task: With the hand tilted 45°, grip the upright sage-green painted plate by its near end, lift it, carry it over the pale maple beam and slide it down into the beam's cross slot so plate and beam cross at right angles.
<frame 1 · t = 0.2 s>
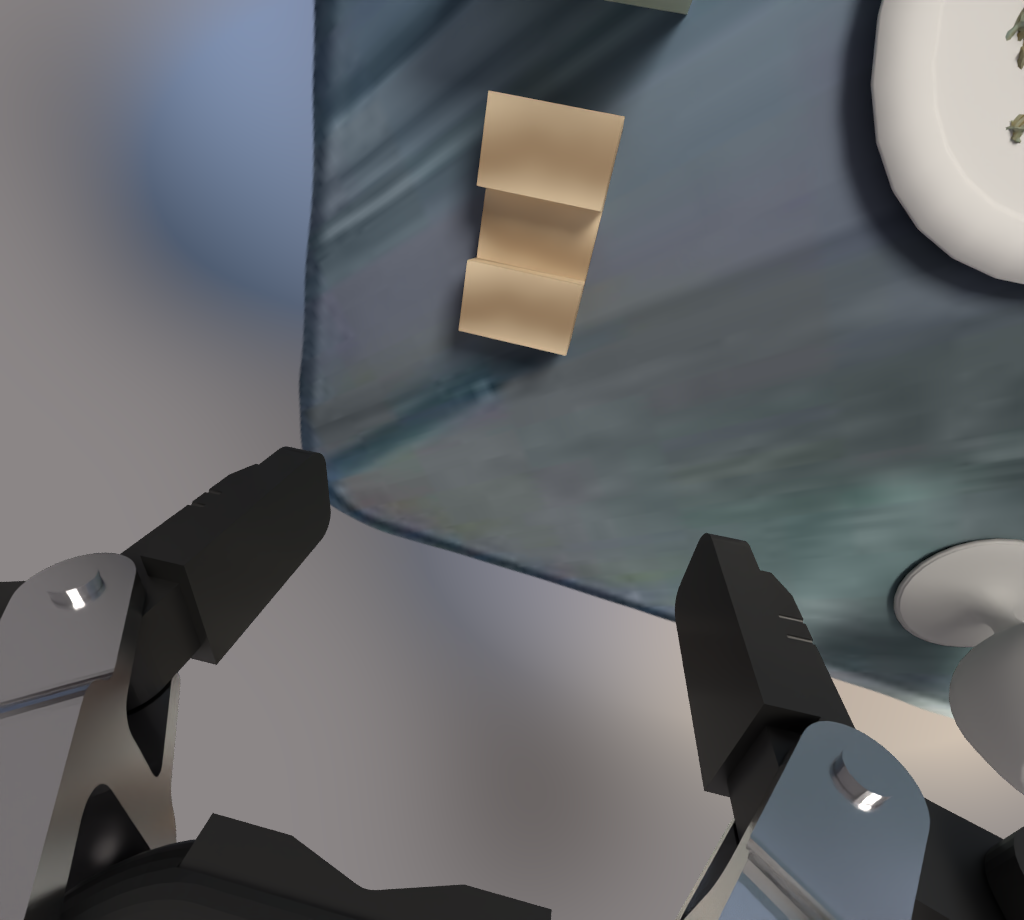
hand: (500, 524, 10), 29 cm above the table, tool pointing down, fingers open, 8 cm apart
slotted maple beam: (539, 235, 33), on the table
chalice: (972, 591, 40), on the table
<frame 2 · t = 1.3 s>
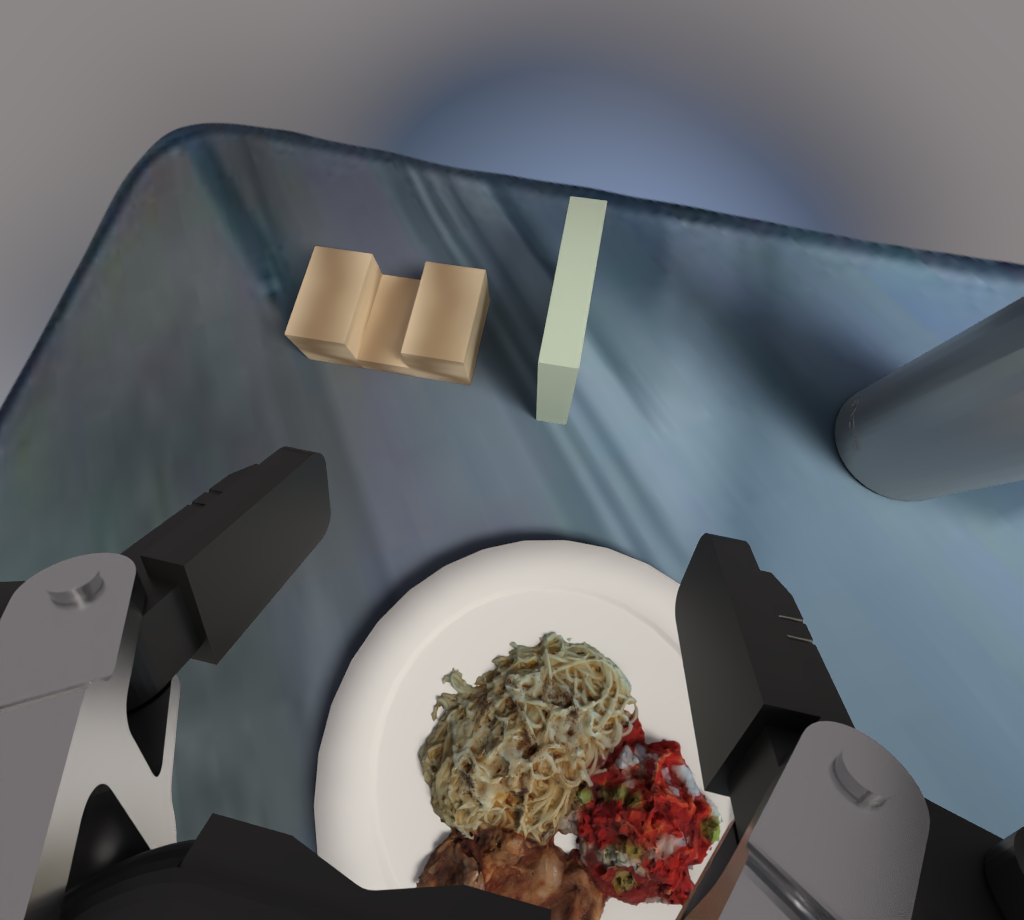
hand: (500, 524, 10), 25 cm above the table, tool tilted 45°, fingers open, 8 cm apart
slotted maple beam: (400, 329, 39), on the table
sage plate: (563, 355, 38), on the table
plated food: (549, 768, 31), on the table
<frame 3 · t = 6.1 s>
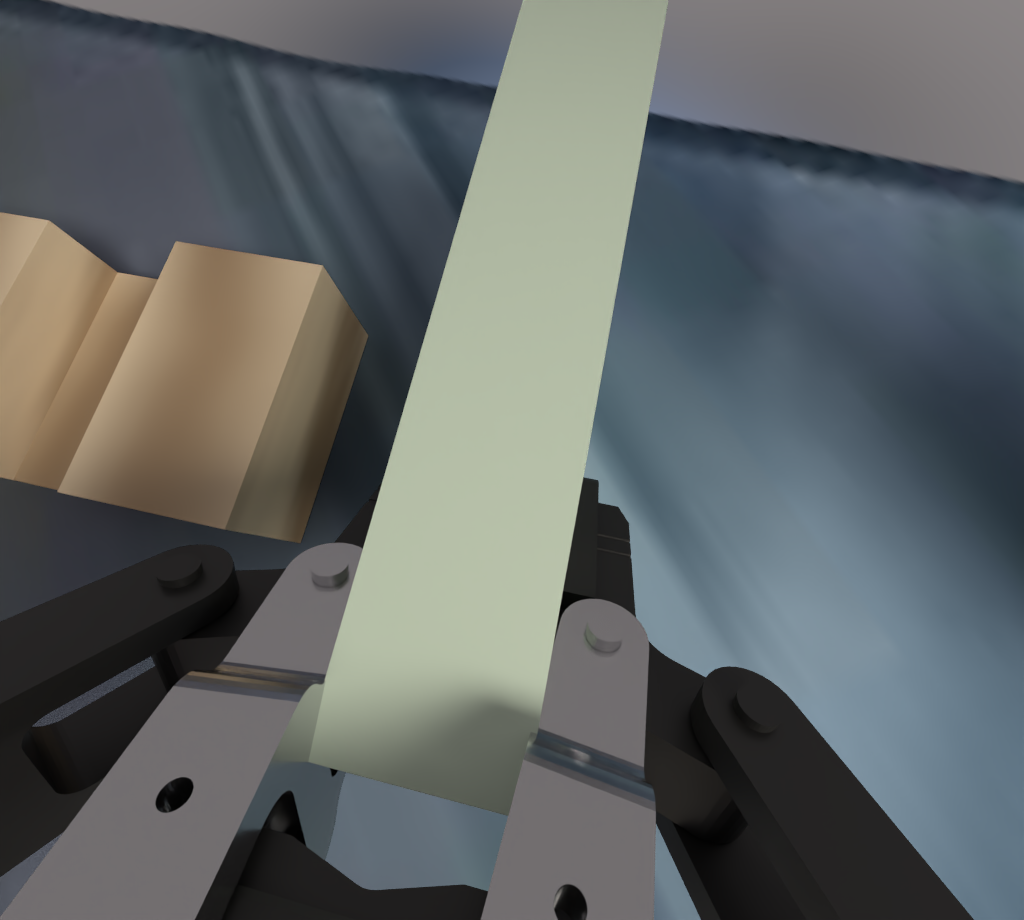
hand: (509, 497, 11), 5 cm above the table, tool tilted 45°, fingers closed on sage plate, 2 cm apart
slotted maple beam: (160, 398, 17), on the table
sage plate: (527, 470, 16), on the table, touching gripper
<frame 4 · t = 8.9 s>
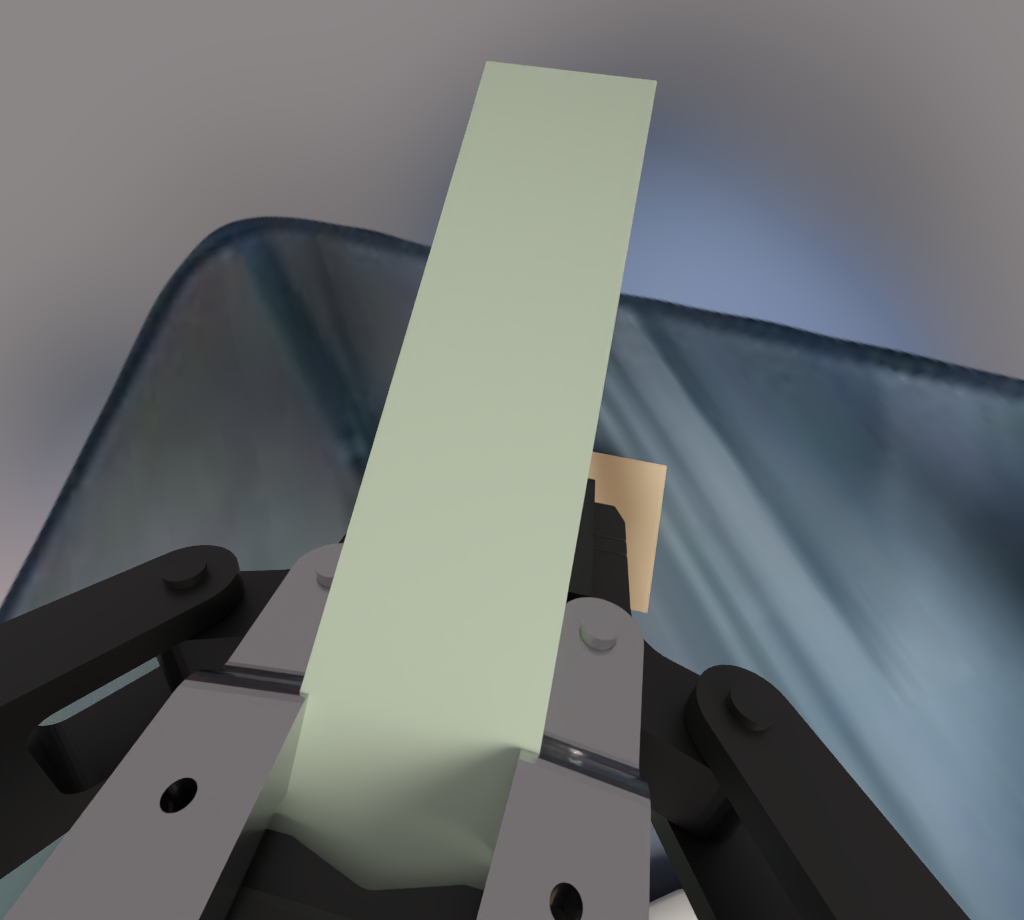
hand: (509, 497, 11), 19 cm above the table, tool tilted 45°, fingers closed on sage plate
slotted maple beam: (530, 519, 29), on the table
sage plate: (510, 546, 15), point 14 cm above the table, touching gripper
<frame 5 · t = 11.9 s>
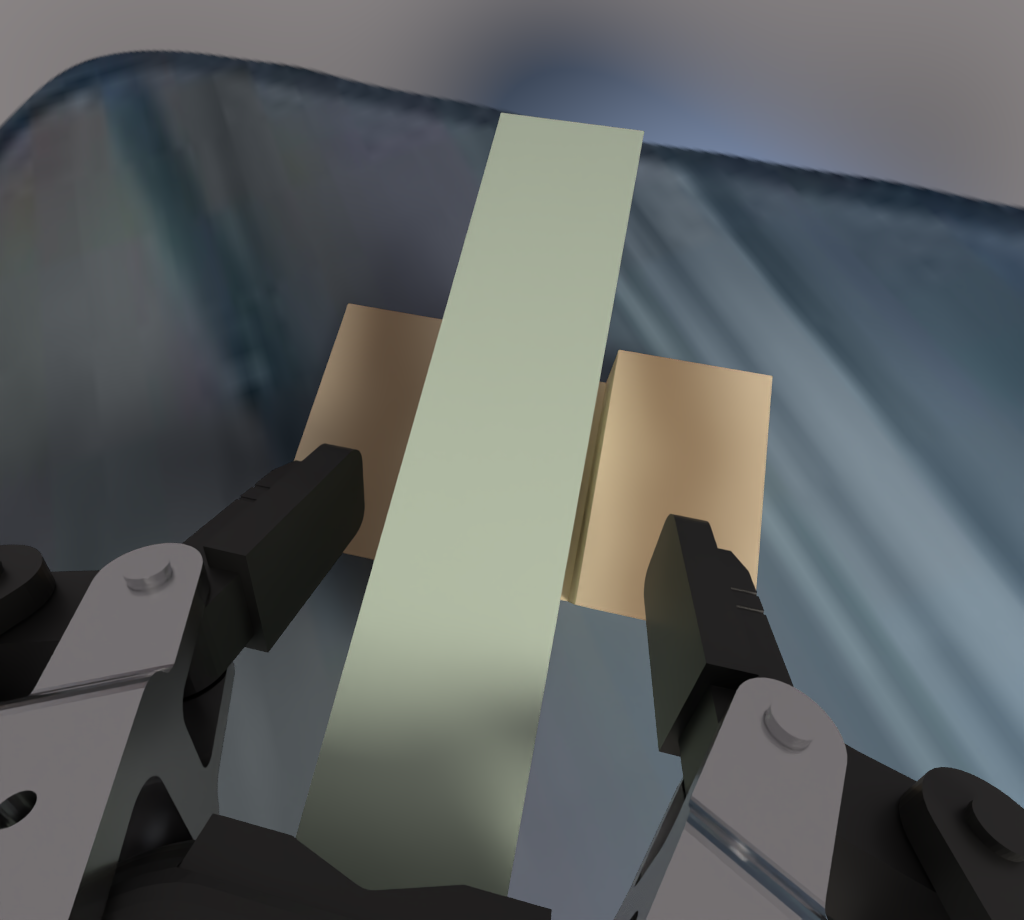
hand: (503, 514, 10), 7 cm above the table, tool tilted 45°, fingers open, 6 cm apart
slotted maple beam: (527, 482, 18), on the table
sage plate: (514, 537, 16), point 1 cm above the table, touching slotted maple beam
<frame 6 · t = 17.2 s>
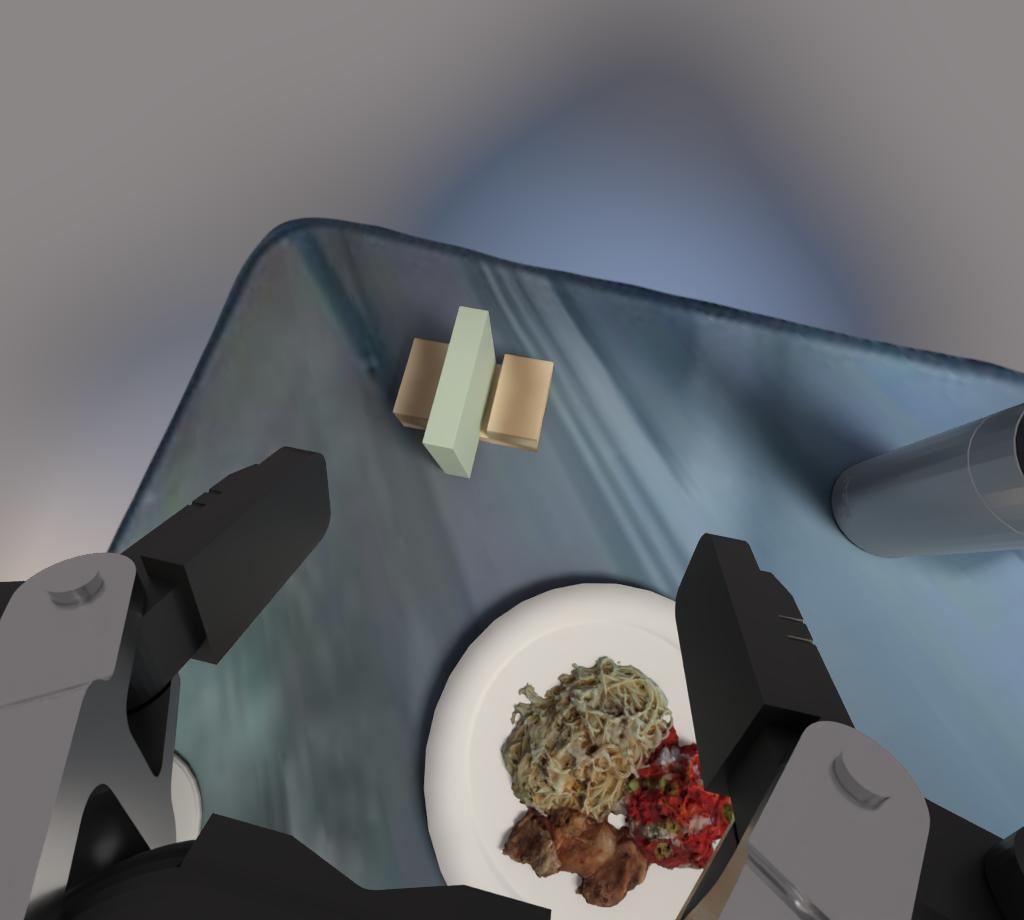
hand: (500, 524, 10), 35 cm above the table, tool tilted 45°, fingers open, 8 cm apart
slotted maple beam: (478, 402, 48), on the table
sage plate: (471, 418, 46), point 1 cm above the table, touching slotted maple beam
chalice: (136, 822, 39), on the table
plated food: (603, 764, 39), on the table
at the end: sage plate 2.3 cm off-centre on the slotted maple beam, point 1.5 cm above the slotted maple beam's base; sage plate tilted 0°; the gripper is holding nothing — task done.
